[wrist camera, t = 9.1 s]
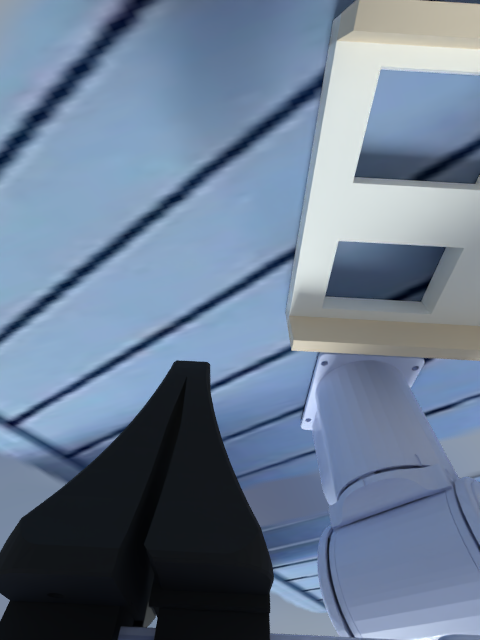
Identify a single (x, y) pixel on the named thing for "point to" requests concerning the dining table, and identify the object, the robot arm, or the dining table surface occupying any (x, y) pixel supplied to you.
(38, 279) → the dining table surface
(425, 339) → the board
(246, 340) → the dining table surface
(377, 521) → the robot arm
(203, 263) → the dining table surface
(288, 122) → the dining table surface
